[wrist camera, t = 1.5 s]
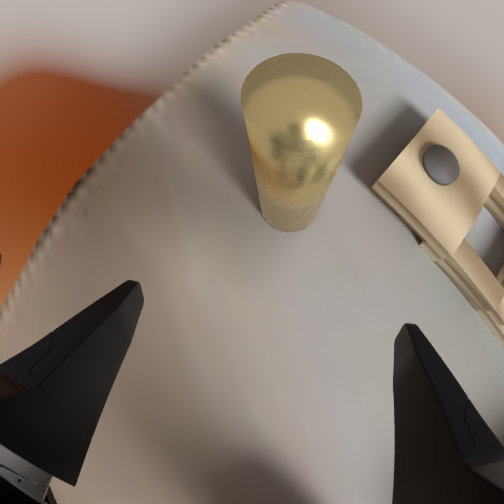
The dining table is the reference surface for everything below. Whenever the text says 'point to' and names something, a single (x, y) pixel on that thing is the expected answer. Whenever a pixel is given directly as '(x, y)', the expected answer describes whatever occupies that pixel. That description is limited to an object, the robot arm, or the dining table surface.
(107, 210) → the dining table surface
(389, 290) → the dining table surface
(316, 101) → the brass pin
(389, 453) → the dining table surface
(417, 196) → the wooden slotted base
